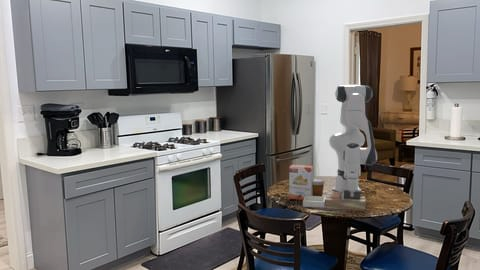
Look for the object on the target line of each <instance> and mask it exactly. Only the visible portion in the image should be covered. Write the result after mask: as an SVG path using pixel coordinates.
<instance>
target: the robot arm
mask: <svg viewBox="0 0 480 270" xmlns="http://www.w3.org/2000/svg"><path fill="white" fill-rule="evenodd" d="M334 96H335V99H336V101H337V102H339V103H341V108H340V109H341V110H340V118H339V119H340V120H339V122H340V124H341V125H342V126H343V127H344V129H345V132H338V133H334V134H332V135H331V136H330V137H329V139H328V140H329V141H328V143H329V147H331V149H332V150H334V151H335V153H336V155H337V171H336V172H337V173H336V174H337V176H336V177H334V186H333V187H332V188H331V190H332V191H334V192H341V193H342V189H344V190H349V192H350V196H351V197H354V192H355V191H356V190H358V191H360V192H362V189H361V188H360V187H359V177H361V170H362V169H361V165H365V166H373V165H375V164H376V163H377V160H378V152H377V150H376V146H375V137H374V134H373V133H374V132H373V126H372V123H371V121H370V120H368V118H367V116H366V103H369V102H370V101H371V99H372V98H373V90H372V87H371V86H369V85H361V84H346V85H345V84H343V85H338V86H337V87H336V90H335V95H334ZM361 131H363V132H364V133H365V135H364V134H363V133H362V132H361ZM365 137H366V138H365ZM365 141H366V143H367V147H362V146H363V145H364V144H365Z"/></svg>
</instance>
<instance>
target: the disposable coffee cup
mask: <svg viewBox="0 0 480 270" xmlns="http://www.w3.org/2000/svg"><path fill="white" fill-rule="evenodd" d="M324 184H325V180H324V178H320V177H319V178H316V177H315V178H314V181H312V187H313V196H323V195H324V194H323V192H324Z"/></svg>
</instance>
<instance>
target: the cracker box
mask: <svg viewBox="0 0 480 270" xmlns="http://www.w3.org/2000/svg"><path fill="white" fill-rule="evenodd" d="M288 170H289V171H288V173H289V176H288V177H289V181H288V182H289V189H288V191H289V194H288V197H289V200H296V201H297V200H300V201H303V200H304V198H305V195H307V196H313V187H312V181H314V173H315V172H314V171H315V169H314V165H302V164H301V165H300V164H291V165H290V166H289V169H288Z"/></svg>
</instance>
